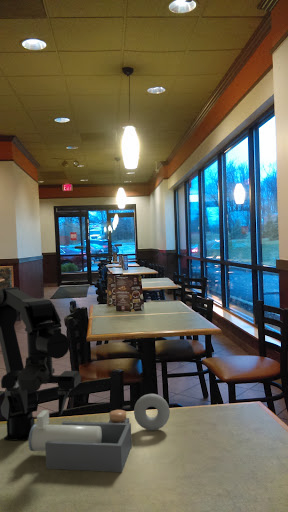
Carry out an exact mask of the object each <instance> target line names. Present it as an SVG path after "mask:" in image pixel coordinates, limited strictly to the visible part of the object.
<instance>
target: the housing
mask: <svg viewBox="0 0 288 512" xmlns="http://www.w3.org/2000/svg"><path fill="white" fill-rule="evenodd" d="M61 425H79V426H100V427H101V431H102V441H101V443H88V442H61V441H46V443H45V449H46V451H45V466H46V469H47V470H48V469H52V470H69V471H89V472H90V471H91V472H93V471H94V472H111V473H112V472H113V473H123V471H124V468H125V465H126V462H127V459H128V457H129V455H130V452H131V450H132V445H133V444H132V443H133V442H132V423H130V417H126V420H125V421H122V422H121V423H115V422H112V421H110V419H109V421H107V422H103V421H100V422H99V421H97V422H96V421H67V420H65V421H64V420H63V421H62V422H61Z"/></svg>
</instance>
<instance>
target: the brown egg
mask: <svg viewBox="0 0 288 512" xmlns="http://www.w3.org/2000/svg"><path fill="white" fill-rule="evenodd" d="M108 415H109V420H110V421H112V422H115V423H121V422H122V421H125V420H126V418H127V412H126V410H123V409H115V410H111V411H110V412H109V414H108Z"/></svg>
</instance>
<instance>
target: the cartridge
mask: <svg viewBox="0 0 288 512" xmlns="http://www.w3.org/2000/svg"><path fill="white" fill-rule="evenodd" d="M46 441H61V442H88V443H101V441H102V431H101V427H100V426H79V425H62V424H50V411H49V409H48V410H46V409H45V410H44V409H43V410H42V411H41V412H40V413H39V414H38V415H37V416H36V423H35V424H34V425H33V426H32V428H31V430H30V433H29V438H28V447H29V450H30V451H31V452H36V451H37V452H40V451H41V452H46V449H45V443H46Z"/></svg>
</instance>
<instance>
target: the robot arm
mask: <svg viewBox="0 0 288 512" xmlns="http://www.w3.org/2000/svg"><path fill="white" fill-rule="evenodd" d="M18 312H19V313H20V320H21V321H22V322H23V324H24V326H25V328H24V332H26V337H27V338H26V340H27V357H26V358H25V364H24V361H23V357H22V354H21V349H20V344H19V341H18V336H17V332H16V328H15V327H16V326H15V325H16V321H17V320H18V315H19V314H18ZM61 322H62V319H61V317H60V315H59V313H58V312H57V309H56V306H55V304H54V303H53V302H52V301H51V299H48V298H36V297H35V298H34V297H33V296H31V295H29V294H27V293H26V292H24V291H22V290H21V288H20V287H16V286H10V287H2V288H0V348H1V352H2V354H1V355H2V357H3V363H4V367H5V371H6V373H5V374H3V376H2V377H1V380H0V388H1V389H4V398H3V401H2V403H1V405H0V412H1V416H2V417H4V418H5V419H6V435H5V436H4V438H3V439H4V440H5V441H27V440H29V433H30V430H31V428H32V426H33V425H34V424H36V423H35V416H33V412H37V411H38V407H39V400H40V395H39V392H38V391H39V389H41V386H42V385H48V384H57V386H58V388H57V390H56V392H57V394H58V405H57V406H58V415H59V416H60V415H62V414H63V413H64V412H63V411H64V408H65V406H66V402H67V399H68V396H69V393H70V392H71V391H72V390H73V389H75V388H76V387H77V386H78V385H79V384H80V383H81V382H82V378H81V377H82V376H81V373H80V372H79V370H65V371H63V372H62V373H61V374H59V375H57V374H54V373H55V368H54V367H53V359H61V358H64V357H65V355H67V354H68V351H69V350H70V346H71V345H70V340H69V338H68V336H67V335H66V334H64V333H62V323H61Z"/></svg>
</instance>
